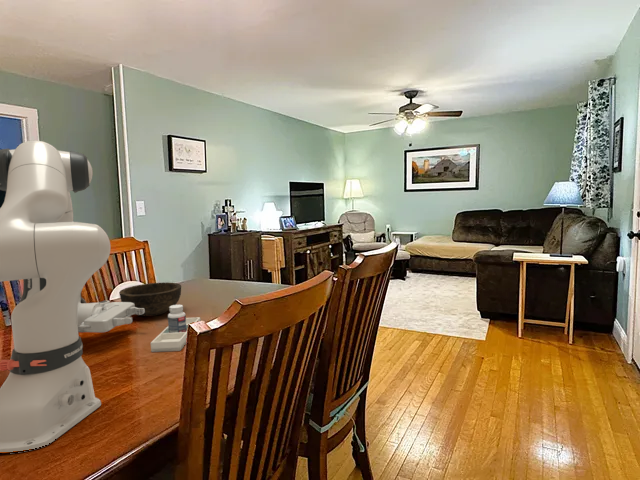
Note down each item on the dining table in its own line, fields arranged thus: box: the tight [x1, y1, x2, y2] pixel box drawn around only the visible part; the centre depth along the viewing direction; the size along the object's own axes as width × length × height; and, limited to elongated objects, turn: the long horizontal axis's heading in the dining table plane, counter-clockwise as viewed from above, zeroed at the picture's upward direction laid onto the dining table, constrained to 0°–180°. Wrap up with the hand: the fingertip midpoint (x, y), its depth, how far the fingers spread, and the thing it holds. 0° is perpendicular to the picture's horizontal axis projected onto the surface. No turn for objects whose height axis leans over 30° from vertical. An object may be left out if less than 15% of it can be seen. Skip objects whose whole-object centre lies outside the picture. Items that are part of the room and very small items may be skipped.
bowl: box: [119, 282, 182, 317], centre depth 154 cm, size 22×22×10 cm
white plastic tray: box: [150, 316, 201, 353], centre depth 127 cm, size 23×8×3 cm, turn 2°
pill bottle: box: [167, 304, 187, 333], centre depth 127 cm, size 5×5×9 cm
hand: (137, 315), depth 126 cm, fingers open, 8 cm apart
